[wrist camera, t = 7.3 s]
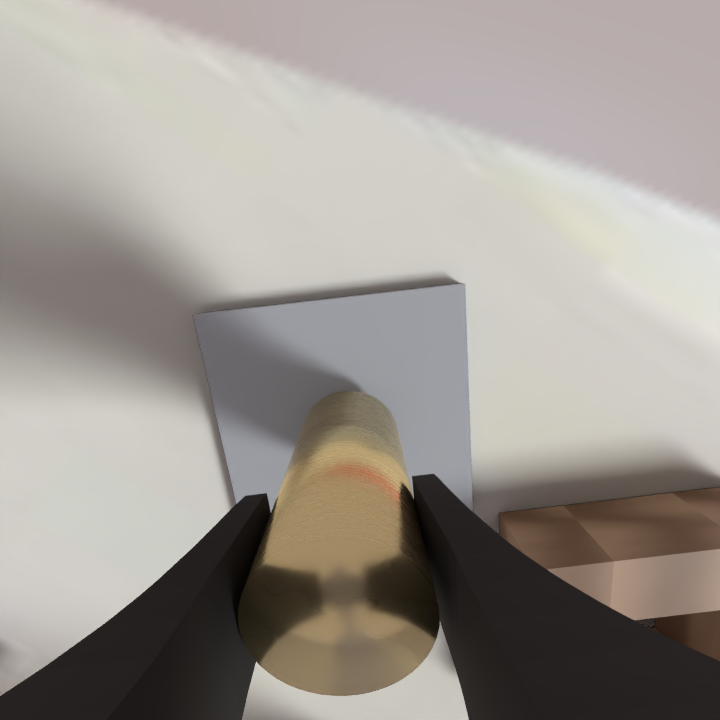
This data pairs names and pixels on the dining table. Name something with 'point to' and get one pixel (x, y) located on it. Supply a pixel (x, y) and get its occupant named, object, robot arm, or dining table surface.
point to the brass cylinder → (342, 559)
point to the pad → (341, 378)
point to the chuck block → (636, 557)
